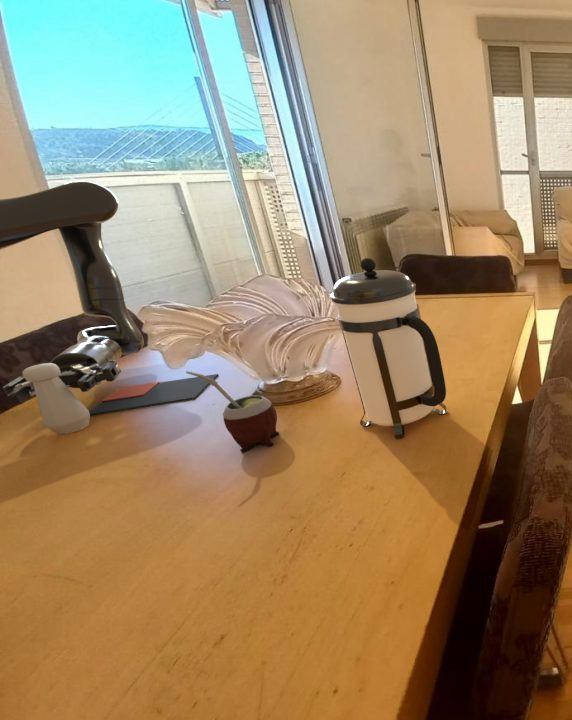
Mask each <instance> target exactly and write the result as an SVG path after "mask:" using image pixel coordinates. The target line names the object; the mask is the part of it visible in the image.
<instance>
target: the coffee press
mask: <svg viewBox="0 0 572 720" xmlns="http://www.w3.org/2000/svg"><path fill="white" fill-rule="evenodd" d="M359 266H360V268H361V269H362V270H363V271H361V272H356V273H353V274H349V275H346V276H344V277H342V278H341V279H338V280H337V281H336V282H335V284H334V285H333V288H332V293H331V294H330V299H331V302H333V304H335V307H336V310H337V314H338V316H337V320H338V324H339V326H340V330H341V331H342V332H341V333H342V336H343V339H344V343H345V347H346V350H347V355H348V359H349V361H350V365H351V368H352V372H353V376H354V379H355V383H356V385H357V386H356V387H357V391H358V394H359V397H360V401H361V405H362V409H363V415H362V416H361V419H360V420H359V425H360V426H362V427H365V428H366V427H369V425H370V424H371V423H372V424H375V425H377V426H382V427H393V435H394V438H395V439H399V438H400V439H401V438H405V425H408V424H410V423H414V422H417V421H419V420H421V419H423V418H425V417H426V416H427V415H429V414H430V413H432V412H434V413H436V414H437V415H440V416H442V415H443V416H444V415H445V414H446V413H447V406H446V405H445V404H444V403H443V402H444V401H445V399H446V396H447V388H446V387H447V386H446V381H445V375H444V371H443V370H444V369H443V365H442V360H441V355H440V350H439V347H438V343H437V339H436V337H435V335H434V333H433V330H432V329H431V328H430V326H429V325H428V324H427V322H425V321H424V320H423V319H422V318H421V317H422V316H421V312H420V306H419V304H418V302H417V299H416V291H417V286H416V283H415V282H412V280H411V279H410V277H409V276H408V275H407V274H405V273H403V272H400V271H398V270H389V269H380V270H375V269H376V268H377V267H376V266H377V263H376V262H375V260H374V259H372V258H370V257H365V258H363V259H361V261H360V265H359ZM438 405H439V406H440V407H441V408H442V409H443V410H440V409H438V408H436V406H438ZM365 415H366V417H367V419H368V420H369V421H367V422H366V421H364V420H363V419H364V418H365Z"/></svg>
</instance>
